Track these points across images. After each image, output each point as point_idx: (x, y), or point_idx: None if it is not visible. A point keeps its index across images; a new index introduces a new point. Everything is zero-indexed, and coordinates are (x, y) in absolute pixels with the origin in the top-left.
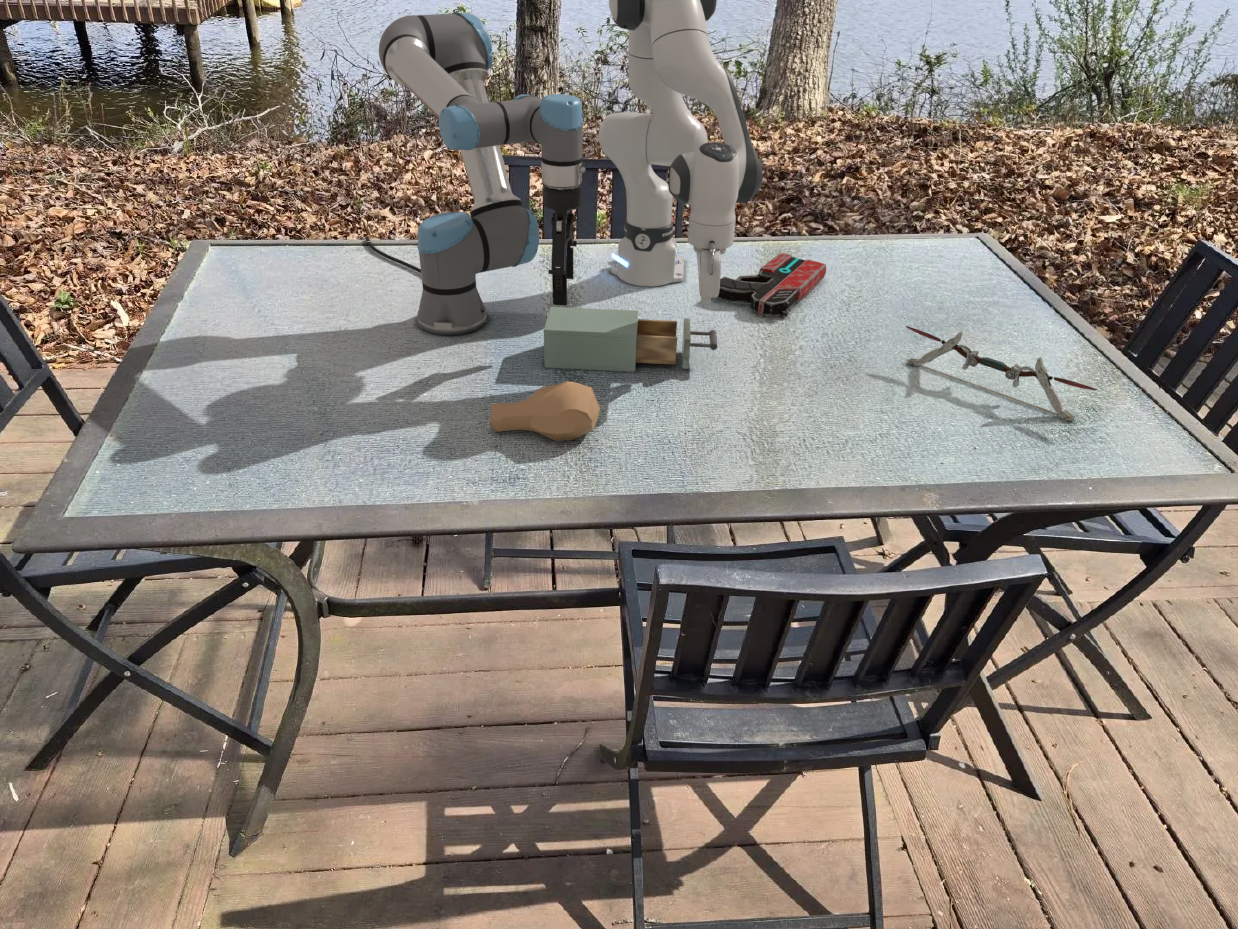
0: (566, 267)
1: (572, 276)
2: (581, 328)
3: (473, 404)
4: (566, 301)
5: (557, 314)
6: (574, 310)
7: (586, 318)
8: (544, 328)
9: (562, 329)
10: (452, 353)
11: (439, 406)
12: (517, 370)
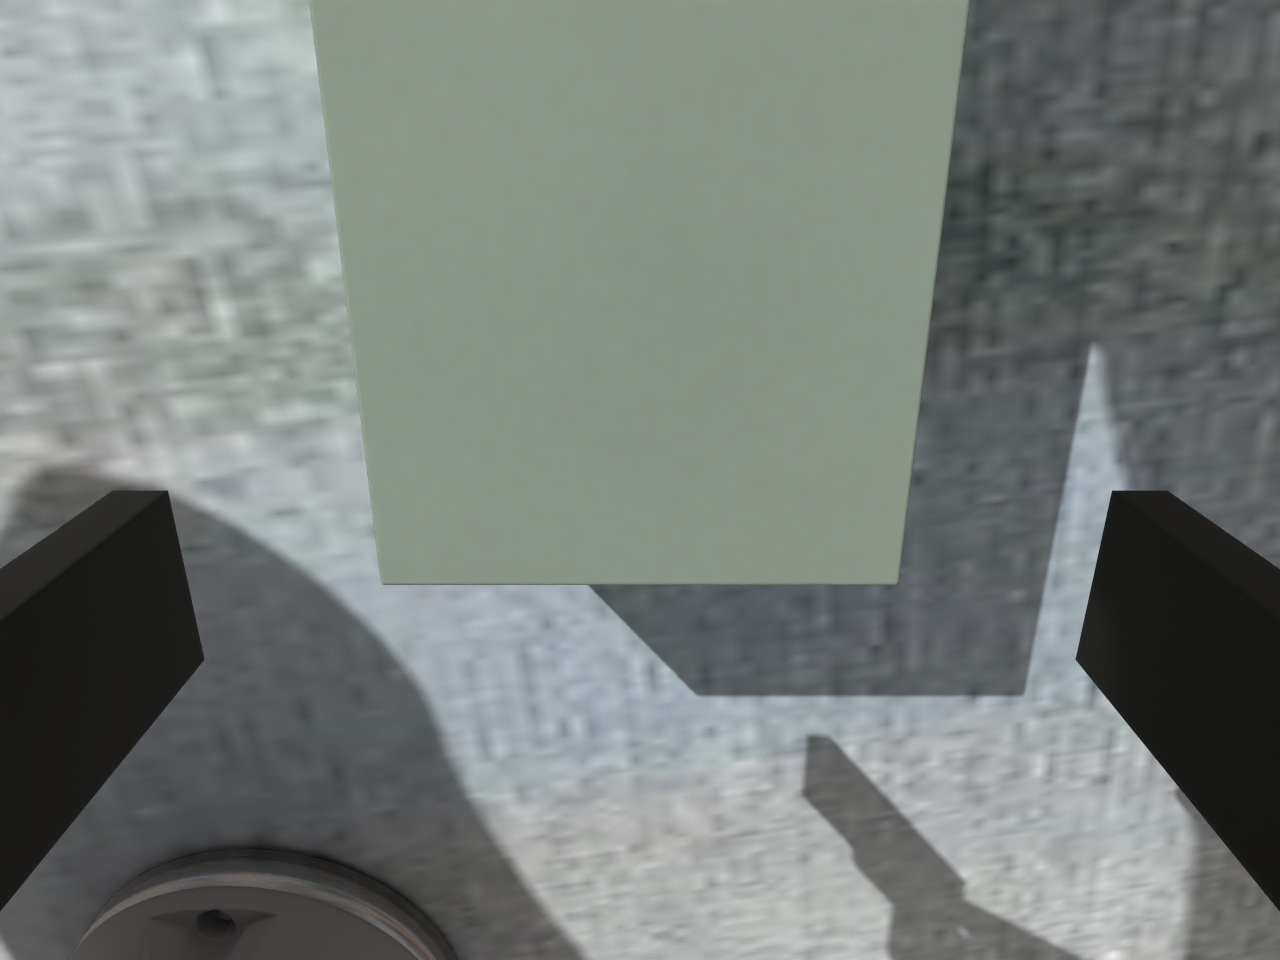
0: (88, 680)
1: (150, 516)
2: (869, 236)
3: None
4: (1200, 517)
5: (550, 504)
6: (423, 351)
7: (611, 202)
8: (875, 582)
9: (893, 425)
10: (667, 928)
11: (1242, 887)
12: (860, 603)
